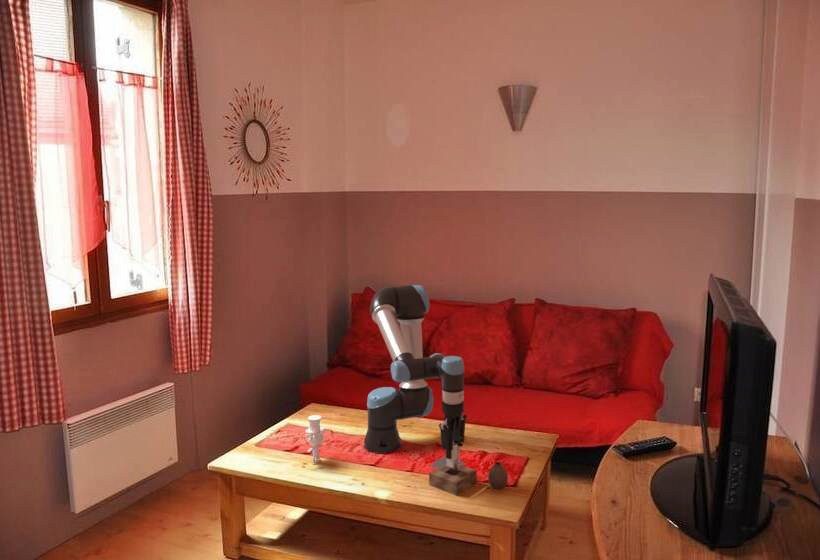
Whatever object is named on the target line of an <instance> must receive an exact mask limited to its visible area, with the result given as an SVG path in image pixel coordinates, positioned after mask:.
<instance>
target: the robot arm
mask: <svg viewBox="0 0 820 560" xmlns="http://www.w3.org/2000/svg"><path fill="white" fill-rule="evenodd" d="M369 305H370V306H369V314H370V317H371V318H372V321H373V322H374V323H375V324H377V326H378V328H379V331H380V333H381V335H382V338H383V340H384V342H385V346H386V348H387V349H388V352H389V354H390V357H391V359H392V362H391V364H390V373H391V378H392V380H393V381H394V382H396V383H399V388H398V390H397V389H396V388H395V387H392V386H388V387H387V386H383V387H378V388H376V389H375V388H374V389H373V390H371V392H369V393H368V395H367V403H366V407H367V430H366V433H365V437H364V439H363V440H364V441H363V447H364V449H365V450H366V449H367V450H366V451H368V450H369V451H368V452H370V451H371V452H370V453H373V452H378V453H377V454H388V453H387V452H390V453H394V452H396V451H398V450H400V449H401V448H402V439H401V436H400V433H399V430H398V425H397V424H398V421H401V420H406V419H413V418H422V417H426V416H428V415H430V414H431V412H432V410H433V407H434V395H433V389H432V388H431V387H430V386H429V385H428V383H427V382H426V380H428V379H436V378H437V379H438V378H439V380H441V400H442V403H441V410H442V413H443V414H444V417H443V422H442V423H439V424H438V427H439V429H440V441H441V442H440V443H441V449H442V450H445V456H446V458H447V466H448V467H451V468H454V450H453V442H455V443H457V444H458V465H459V464H460V460H461V458H460V456H461V455H460V453H461V447H463V443H465V431H466V430H465V429H466V421H467V414H463V413H464V410H465V402H464V401H465V400H464V399H465V396H464V394H465V391H464V390H465V389H464V387H465V386H464V385H465V365H464V358H462V357H461V356H457V355H448V356H446V355H445V354H442V353H439V352H438V353H437V352H436V353H433V354H432V355H430V356H429V357H428V356H427V357H423V355H424V354H423V334H422V333H423V332H422V322H423V321H424V320H425V317H426V316H425V314H428V313H429V311H430V299H429V295H428V291H427V290H426V289H425V287H423V286H422V285H421V284H408V285H406V284H405V285H398V286H397V285H396V286H386V287H383V288H381V289H379V290H378V291H377V292H376V293H375V294H374V296H373V297H372V299H371V301H370V304H369ZM393 451H394V452H393ZM385 452H386V453H385Z"/></svg>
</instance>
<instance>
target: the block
mask: <svg viewBox="0 0 820 560" xmlns="http://www.w3.org/2000/svg"><path fill="white" fill-rule="evenodd" d="M477 473H478V471H477V469H473V468H470V467H467V466H465V465H458V474H457V475H455V476H453V475H450V474H449V467H448V466H447V463H446V464H444V465H442V466H440V467H439V468H435V469H434V470H432V471H430V472H429V473H428V475H429V476H428V481H429V482H428V483H429V487H433V488H435V489H438V490H441V491H443V492H446V493H448V494H451V495H454V496H456V497H457V496H459V495H460V494H462V493H464V492H465V491H466V490H467V489H470V488H471V487H472V486H475V485H476V484H477V481H478V478H477V477H478V475H477Z"/></svg>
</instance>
